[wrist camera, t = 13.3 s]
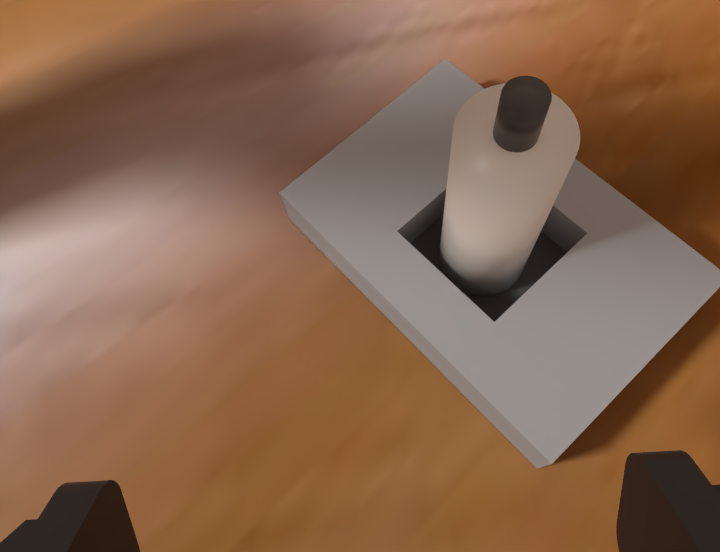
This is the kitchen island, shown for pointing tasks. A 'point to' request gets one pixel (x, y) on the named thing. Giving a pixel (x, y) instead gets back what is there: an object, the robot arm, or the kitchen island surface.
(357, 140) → the socket
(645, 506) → the robot arm
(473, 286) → the plug
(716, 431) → the kitchen island surface
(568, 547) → the kitchen island surface
